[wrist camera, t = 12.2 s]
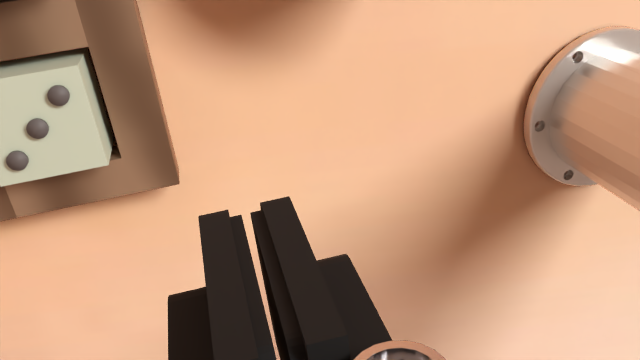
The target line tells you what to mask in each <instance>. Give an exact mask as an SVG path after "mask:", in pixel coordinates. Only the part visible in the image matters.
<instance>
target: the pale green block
mask: <svg viewBox="0 0 640 360" xmlns="http://www.w3.org/2000/svg"><path fill="white" fill-rule="evenodd" d="M113 141H114V137H113V133H112V130H111V127H110V123H109V120H108V117H107V113H106V110H105V107H104V103H103V100H102V96H101V93H100V90H99V86H98V83H97V80H96V76H95V73H94V70H93V66H92V63H91V59H90V56H89V53H88V49H87V47H86V48H80V49H74V50H68V51H62V52H56V53H50V54H44V55H38V56H33V57H27V58H21V59H15V60H9V61H3V62H0V186H1V187H2V186H7V185H12V184H17V183H22V182H27V181H32V180H37V179H42V178H47V177H52V176H57V175H62V174H67V173H72V172H77V171H82V170H87V169H92V168H97V167H102V166H107V165H109V161H110V156H111V151H112V146H113Z"/></svg>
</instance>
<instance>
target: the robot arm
mask: <svg viewBox="0 0 640 360" xmlns="http://www.w3.org/2000/svg"><path fill="white" fill-rule="evenodd" d="M524 135H525V143H526V146H527V149H528V152H529V154H530V156H531V158H532V159H533V161H534V162H535V164H536V165H537V166H538V167H539V168H540V169H541V170H542V171H543V172H544V173H546V174H547V175H549V176H550V177H552V178H553V179H554V180H556V181H559V182H561V183H563V184H567V185H573V186H591V185H595V184H599V185H600V186H602V187H603V188H605V189H606V190H608V191H610V192H611V193H613V194H614V195H616V196H617V197H619V198H620V199H622V200H623V201H625V202H626V203H628V204H629V205H631V206H632V207H634V208H636V209H637V210H639V211H640V30H638V29H634V28H630V27H620V26H612V27H606V28H601V29H597V30H595V31H592V32H590V33H587V34H584V35H583V36H581V37H579V38H578V39H576V40H574V41H573V42H571V43H569V44H568V45H567V46H566V47H565V48H564V49H562V50H561V51H560V52H559V53H558V54H557V55H556V56H555V57H554V58H553V59H552V60H551V61H550V63H549V64H548V65H547V66H546V67H545V69H544V70H543V72H542V73H541V75H540V76H539V78H538V80H537V81H536V83H535V85H534V87H533V90H532V92H531V94H530V96H529V99H528V103H527V107H526V111H525V118H524ZM260 206H261V211H256V212H252V213H251V219H252V224H253V229H254V234H255V239H256V244H257V249H258V254H259V259H260V265H261V270H262V275H263V280H264V285H265V290H266V295H267V300H268V305H269V310H270V315H271V320H272V325H273V330H274V335H275V339H276V344H277V348H278V352H279V356H280V360H446V359H445V358H444V357H443V356H441V355H440V354H439V353H438V352H437V351H436V350H434V349H432V348H430V347H428V346H425V345H423V344H421V343H416V342H411V341H406V340H403V341H392V339H391V337H390V335H389V333H388V331H387V330H386V328H385V326H384V324H383V322H382V320H381V318H380V316H379V314H378V312H377V310H376V308H375V306H374V304H373V302H372V301H371V299H370V297H369V295H368V293H367V291H366V289H365V287H364V285H363V283H362V281H361V279H360V277H359V275H358V273H357V272H356V270H355V268H354V266H353V264H352V262H351V260H350V258H349V257H348V255H346V254H343V255H339V256H335V257H330V258H326V259H322V260H318V261H316V259H315V256H314V254H313V251H312V249H311V247H310V244H309V242H308V240H307V237H306V235H305V232H304V230H303V228H302V225H301V223H300V221H299V218H298V216H297V214H296V211H295V209H294V206H293V204H292V202H291V199H290V197H284V198H280V199H275V200H271V201H266V202H261V203H260ZM199 226H200V235H201V245H202V254H203V263H204V272H205V282H206V287H203V288H199V289H195V290H190V291H186V292H182V293H178V294H173V295H169V297H168V360H276V356H275V351H274V347H273V343H272V338H271V334H270V330H269V326H268V322H267V318H266V314H265V310H264V306H263V302H262V298H261V294H260V289H259V285H258V281H257V277H256V273H255V269H254V265H253V261H252V257H251V253H250V249H249V244H248V240H247V236H246V232H245V228H244V224H243V220H242V216H241V215H238V216H233V217H229V212H228V210H225V211H220V212H215V213H211V214H206V215H201V216H199Z"/></svg>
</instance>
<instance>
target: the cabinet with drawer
mask: <svg viewBox="0 0 640 360" xmlns="http://www.w3.org/2000/svg"><path fill="white" fill-rule="evenodd" d="M83 47H89V50H90V53H91V56H92V60H93V63H94V67H95V70H96V73H97V77H98V80H99V83H100V87H101V90H102V94H103V97H104V100H105V104H106V107H107V110H108V114H109V117H110V121H111V124H112V127H113V131H114V134H115V137H116V141H117V144H118V145H115V146H112V151H111V156H110V161H109V165H107V166H102V167H97V168H92V169H87V170H82V171H77V172H72V173H67V174H62V175H57V176H52V177H47V178H42V179H37V180H32V181H27V182H22V183H17V184H12V185H7V186H2V187H1V186H0V221H5V220H10V219H14V218H19V217H24V216H29V215H33V214H38V213H43V212H48V211H53V210H57V209H62V208H67V207H72V206H77V205H81V204H86V203H91V202H96V201H100V200H105V199H110V198H115V197H120V196H124V195H129V194H134V193H139V192H144V191H148V190H153V189H158V188H163V187H167V186H172V185H177V184H179V168H178V164H177V160H176V156H175V152H174V148H173V145H172V141H171V137H170V133H169V129H168V125H167V121H166V117H165V113H164V109H163V105H162V101H161V97H160V93H159V89H158V85H157V81H156V77H155V73H154V69H153V65H152V61H151V57H150V53H149V49H148V45H147V41H146V37H145V33H144V29H143V25H142V21H141V17H140V13H139V9H138V5H137V1H136V0H0V61H6V60H12V59H18V58H24V57H30V56H36V55H42V54H48V53H53V52H59V51H65V50H71V49H77V48H83Z"/></svg>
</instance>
